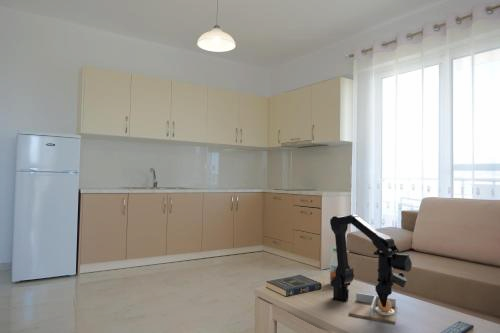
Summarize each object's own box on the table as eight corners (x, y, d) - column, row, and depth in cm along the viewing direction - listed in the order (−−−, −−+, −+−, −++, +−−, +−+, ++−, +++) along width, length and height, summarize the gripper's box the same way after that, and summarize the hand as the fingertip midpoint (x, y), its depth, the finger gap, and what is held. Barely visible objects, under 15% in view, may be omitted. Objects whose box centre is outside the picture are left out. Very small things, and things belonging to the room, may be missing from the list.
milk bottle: (326, 283, 188) (327, 246, 189) (338, 282, 191) (338, 246, 192) (335, 287, 181) (336, 249, 182) (347, 286, 184) (347, 248, 185)
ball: (377, 313, 145) (376, 301, 144) (378, 306, 150) (378, 294, 149) (391, 316, 142) (391, 304, 141) (392, 308, 147) (391, 296, 146)
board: (348, 315, 144) (348, 304, 144) (355, 302, 160) (355, 292, 160) (395, 324, 136) (395, 312, 136) (396, 309, 152) (396, 298, 152)
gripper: (405, 274, 135) (405, 314, 134) (405, 264, 152) (405, 299, 151) (375, 270, 140) (375, 309, 139) (379, 261, 157) (379, 295, 156)
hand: (384, 303), depth 146 cm, fingers open, 9 cm apart
